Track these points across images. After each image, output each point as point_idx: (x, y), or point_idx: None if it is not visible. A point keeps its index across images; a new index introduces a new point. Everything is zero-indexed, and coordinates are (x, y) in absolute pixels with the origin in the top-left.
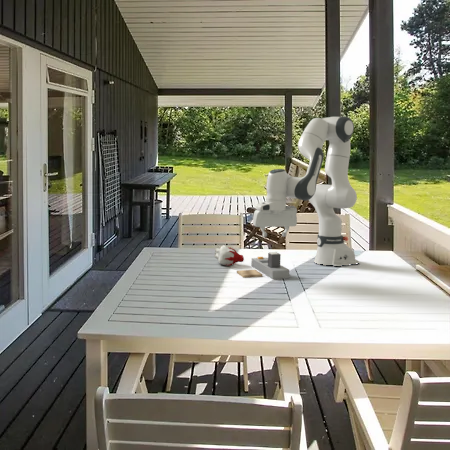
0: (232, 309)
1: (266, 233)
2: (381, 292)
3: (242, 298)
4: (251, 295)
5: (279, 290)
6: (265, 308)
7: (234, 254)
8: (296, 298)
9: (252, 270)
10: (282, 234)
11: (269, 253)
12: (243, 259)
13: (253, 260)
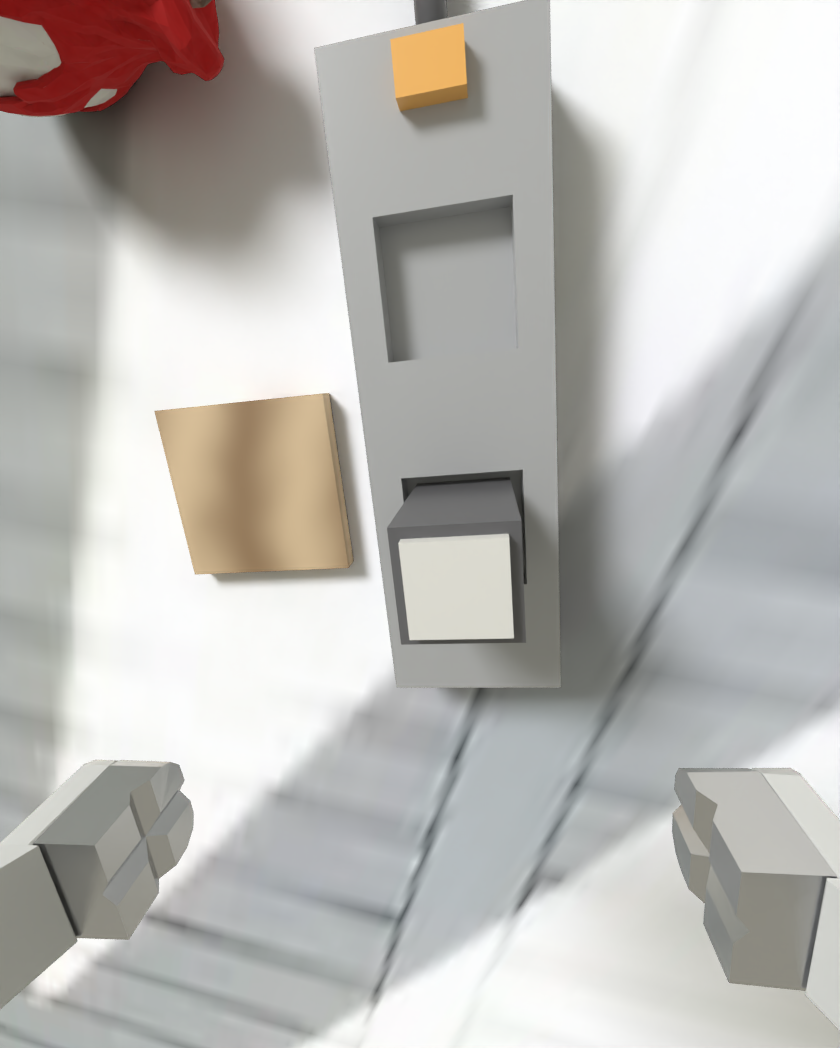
0: (113, 1011)
1: (121, 925)
2: None
3: (161, 922)
4: (208, 899)
5: (373, 870)
6: (240, 1041)
7: (42, 17)
8: (416, 991)
9: (291, 423)
10: (702, 825)
11: (395, 558)
12: (211, 73)
13: (329, 142)
